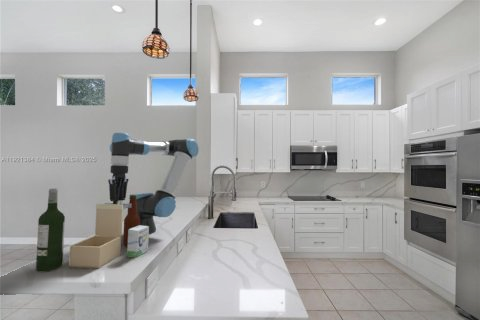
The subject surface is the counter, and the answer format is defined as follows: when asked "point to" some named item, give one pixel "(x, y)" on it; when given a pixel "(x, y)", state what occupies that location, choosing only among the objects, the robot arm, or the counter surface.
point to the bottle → (130, 219)
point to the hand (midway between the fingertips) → (117, 214)
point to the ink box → (137, 241)
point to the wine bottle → (50, 236)
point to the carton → (94, 251)
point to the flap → (109, 219)
